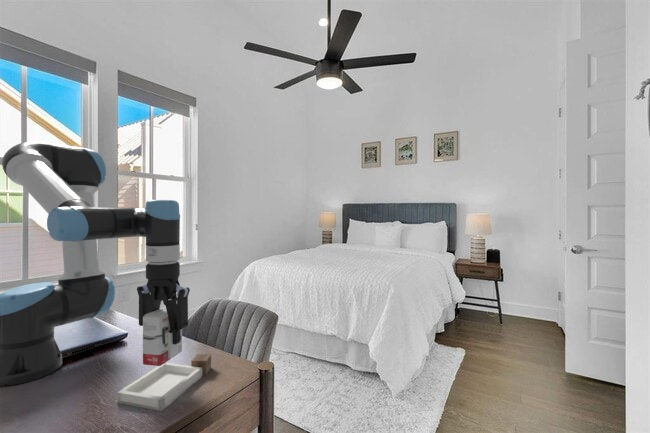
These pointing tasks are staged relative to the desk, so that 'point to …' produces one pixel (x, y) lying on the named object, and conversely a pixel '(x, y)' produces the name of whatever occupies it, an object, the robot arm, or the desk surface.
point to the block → (202, 362)
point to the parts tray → (160, 386)
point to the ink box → (157, 337)
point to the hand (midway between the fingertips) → (163, 354)
